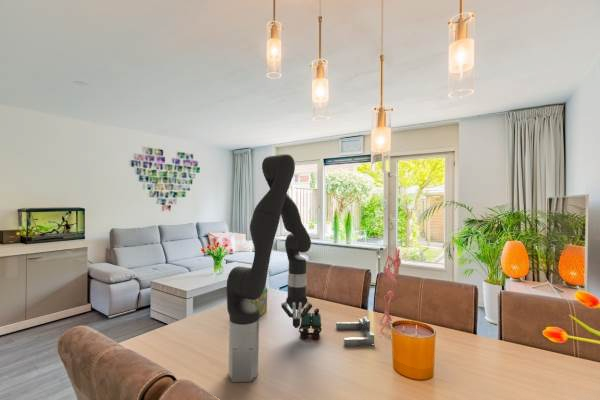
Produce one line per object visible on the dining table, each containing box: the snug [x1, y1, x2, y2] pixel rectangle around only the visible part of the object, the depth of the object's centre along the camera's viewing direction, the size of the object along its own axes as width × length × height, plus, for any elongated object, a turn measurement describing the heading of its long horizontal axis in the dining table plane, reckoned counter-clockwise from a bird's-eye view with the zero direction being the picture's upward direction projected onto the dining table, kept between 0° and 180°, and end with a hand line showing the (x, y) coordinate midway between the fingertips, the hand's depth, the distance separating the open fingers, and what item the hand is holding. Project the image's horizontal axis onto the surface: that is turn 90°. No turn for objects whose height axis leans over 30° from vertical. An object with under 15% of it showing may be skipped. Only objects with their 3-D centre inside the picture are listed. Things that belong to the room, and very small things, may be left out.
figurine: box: [379, 247, 402, 338], centre depth 129 cm, size 15×26×35 cm, turn 167°
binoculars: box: [298, 307, 322, 341], centre depth 120 cm, size 9×11×10 cm
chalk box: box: [249, 287, 268, 318], centre depth 144 cm, size 9×9×15 cm
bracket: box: [335, 315, 375, 347], centre depth 121 cm, size 16×12×7 cm
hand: (296, 327), depth 119 cm, fingers closed
